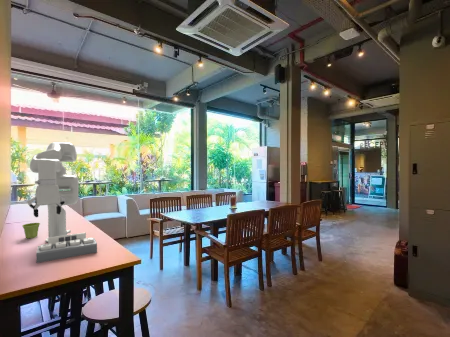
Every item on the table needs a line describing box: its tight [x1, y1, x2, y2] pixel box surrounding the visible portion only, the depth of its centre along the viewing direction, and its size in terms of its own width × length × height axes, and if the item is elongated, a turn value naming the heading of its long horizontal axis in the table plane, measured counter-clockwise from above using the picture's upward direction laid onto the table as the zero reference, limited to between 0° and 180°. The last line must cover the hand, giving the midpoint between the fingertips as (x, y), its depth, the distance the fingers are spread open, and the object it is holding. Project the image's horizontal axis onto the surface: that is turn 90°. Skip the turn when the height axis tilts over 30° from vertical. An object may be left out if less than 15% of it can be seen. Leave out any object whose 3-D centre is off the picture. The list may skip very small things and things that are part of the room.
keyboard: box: [35, 232, 98, 264], centre depth 136 cm, size 27×12×9 cm, turn 124°
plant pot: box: [22, 222, 41, 240], centre depth 166 cm, size 9×9×9 cm
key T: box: [83, 237, 94, 244], centre depth 141 cm, size 5×5×3 cm
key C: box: [70, 239, 80, 246], centre depth 138 cm, size 5×5×3 cm
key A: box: [40, 243, 52, 251], centre depth 131 cm, size 5×5×3 cm
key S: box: [56, 241, 66, 248], centre depth 134 cm, size 5×5×3 cm
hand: (47, 215), depth 130 cm, fingers open, 9 cm apart
